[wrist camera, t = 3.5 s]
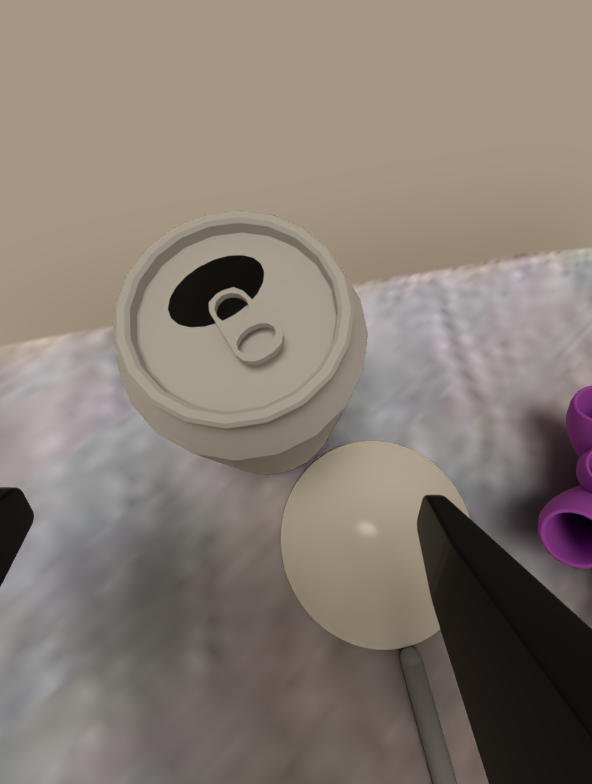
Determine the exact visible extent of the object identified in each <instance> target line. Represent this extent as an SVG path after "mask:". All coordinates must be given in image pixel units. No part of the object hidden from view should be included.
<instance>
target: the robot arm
mask: <svg viewBox="0 0 592 784" xmlns="http://www.w3.org/2000/svg"><path fill="white" fill-rule="evenodd" d="M33 519H34V513H33V510H32V509H31V507H30V505H29V503H28V501H27V499H26V497H25V495H24V494H23V492H22V490H20V489H19V488H13V487H1V488H0V586H1V584H2V582H3V581H4V579H5V577H6V575H7V573H8V571H9V569H10V567H11V565H12V563H13V561H14V559H15V557H16V555H17V553H18V551H19V549H20V547H21V545H22V543H23V541H24V539H25V537H26V535H27V533H28V531H29V529H30V527H31V525H32V523H33ZM417 532H418V537H419V541H420V546H421V551H422V556H423V561H424V566H425V571H426V576H427V581H428V586H429V590H430V595H431V599H432V603H433V607H434V610H435V613H436V617H437V620H438V623H439V626H440V629H441V633H442V636H443V639H444V642H445V645H446V648H447V652H448V655H449V658H450V661H451V664H452V667H453V671H454V674H455V677H456V680H457V683H458V687H459V690H460V693H461V696H462V699H463V702H464V706H465V709H466V712H467V715H468V718H469V722H470V725H471V728H472V731H473V734H474V737H475V741H476V744H477V747H478V750H479V753H480V756H481V760H482V763H483V766H484V769H485V772H486V776H487V779H488V782H489V784H592V629H591V628H590V627H589V626H588V625H587V624H586V623H584V622H583V621H582V620H581V619H580V618H579V617H578V616H577V615H576V614H574V613H573V612H572V611H571V610H570V609H569V608H568V607H567V606H566V605H565V604H563V603H562V602H561V601H560V600H559V599H558V598H557V597H556V596H555V595H554V594H552V593H551V592H550V591H549V590H548V589H547V588H546V587H545V586H544V585H543V584H541V583H540V582H539V581H538V580H537V579H536V578H535V577H534V576H533V575H531V574H530V573H529V572H528V571H527V570H526V569H525V568H524V567H523V566H522V565H520V564H519V563H518V562H517V561H516V560H515V559H514V558H513V557H512V556H511V555H509V554H508V553H507V552H506V551H505V550H504V549H503V548H502V547H501V546H500V545H498V544H497V543H496V542H495V541H494V540H493V539H492V538H491V537H490V536H488V535H487V534H486V533H485V532H484V531H483V530H482V529H481V528H480V527H479V526H477V525H476V524H475V523H474V522H473V521H472V520H471V519H470V518H469V517H468V516H466V515H465V514H464V513H463V512H462V511H461V510H460V509H459V508H458V507H456V506H455V505H454V504H453V503H452V502H451V501H450V500H449V499H448V498H446V497H445V496H443V495H425V496H424V497H423V499H422V503H421V506H420V510H419V514H418V518H417Z"/></svg>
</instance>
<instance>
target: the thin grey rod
mask: <svg viewBox="0 0 592 784" xmlns="http://www.w3.org/2000/svg"><path fill="white" fill-rule="evenodd" d="M400 661H401V665H402V669H403V672H404V676H405V680H406V684H407V687H408V691H409V695H410V698H411V702H412V706H413V710H414V713H415V717H416V721H417V725H418V728H419V732H420V736H421V740H422V743H423V747H424V751H425V754H426V758H427V762H428V766H429V769H430V773H431V777H432V781H433V784H457V781H456V778H455V774H454V770H453V767H452V763H451V760H450V756H449V753H448V749H447V746H446V742H445V739H444V735H443V732H442V728H441V724H440V721H439V717H438V714H437V710H436V707H435V703H434V700H433V696H432V693H431V689H430V686H429V682H428V678H427V675H426V671H425V668H424V664H423V661H422V657H421V655H420V653H419V652H418V651H417V650H416V649H415V648H413V647H406V648H404V649H403V650H402V652H401V654H400Z"/></svg>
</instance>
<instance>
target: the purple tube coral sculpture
mask: <svg viewBox="0 0 592 784" xmlns="http://www.w3.org/2000/svg"><path fill="white" fill-rule="evenodd" d="M566 427H567V434H568V437H569V439H570V441H571V443H572V446H573V448H574V450H575V451H576V453H577V454H578V456H579V457H580V458H579V460H578V461H577V467H576V475H577V479H578V481H579V483H580V484H581V485H580V486H577V487H574V488H572V489H569V490H566V491H565V492H563V493H561V494H559V495H557V496H556V497H554V498H553V499H551V500H550V501H549V502H548V503H547V504H546V505H545V506H544V508H543V509H542V511H541V513H540V514H539V520H538V533H539V537H540V540H541V542H542V544H543V545H544V547H545V549H546V550H547V551H548V552H549V553H550V554H551V555H552V556H553V557H554V558H555V559H557V560H558V561H560V562H562V563H563V564H566V565H569V566H572V567H575V568H584V569H588V568H592V386H588V387H585V388H583V389H581V390H580V391H578V392H577V393H576V394H575V396H574V397H573V398H572V400H571V402H570V405H569V408H568V411H567V415H566Z"/></svg>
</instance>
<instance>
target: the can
mask: <svg viewBox="0 0 592 784" xmlns="http://www.w3.org/2000/svg"><path fill="white" fill-rule="evenodd" d="M367 337H368V332H367V328H366V323H365V319H364V314H363V310H362V305H361V301H360V298H359V297H358V295H357V293H356V292H355V290H354V289H353V287H352V285H351V284H350V282H349V281H348V279H347V276H346V275H345V273H344V271H343V270H342V268H341V267H340V265H339V263H338V262H337V260H336V258H335V257H334V255H333V254H332V252H331V250H330V249H329V248H328V247H326V246H325V245H324V244H323V243H322V242H320V241H319V240H318V239H317V238H316V237H315V236H313V235H312V234H311V233H310V232H309V231H307V230H306V229H305V228H303V227H301V226H298V225H296V224H294V223H291V222H289V221H286V220H284V219H282V218H279V217H277V216H275V215H269V214H261V213H254V212H245V211H234V212H226V213H219V214H210V215H205V216H202V217H200V218H197V219H195V220H192V221H190V222H188V223H185V224H183V225H180V226H178V227H175V228H173V229H172V230H170V231H169V232H168V233H167V234H165V235H164V236H163V237H161V238H160V239H159V240H157V241H156V242H155V243H154V244H152V245H151V246H149V247H148V248H147V249H146V250H145V251H144V252H143V254H142V255H141V256H140V258H139V259H138V260H137V262H136V263H135V264H134V266H133V267H132V268H131V270H130V271H129V272H128V274H127V275H126V277H125V279H124V282H123V285H122V288H121V291H120V294H119V296H118V299H117V303H116V305H115V308H114V343H115V346H116V349H117V351H118V369H119V372H120V375H121V377H122V380H123V383H124V385H125V388H126V391H127V393H128V396H129V399H130V401H131V404H132V405H133V406H134V407H135V409H136V410H137V411H138V412H139V413H140V414H141V415H142V417H143V418H144V419H145V420H146V421H147V422H148V423H149V425H150V426H151V427H152V428H153V429H154V430H155V431H156V433H157V434H159V435H161V436H163V437H165V438H166V439H168V440H170V441H172V442H174V443H175V444H177V445H179V446H181V447H183V448H185V449H186V450H188V451H190V452H192V453H194V454H197V455H200V456H203V457H206V458H208V459H211V460H214V461H217V462H220V463H223V464H226V465H229V466H232V467H235V468H238V469H241V470H244V471H248V472H253V473H259V474H265V475H269V474H276V473H282V472H289V471H291V470H293V469H295V468H297V467H299V466H300V465H302V464H304V463H306V462H308V461H309V460H310V459H311V458H312V457H313V456H314V455H315V454H316V453H317V452H318V451H319V450H320V449H321V448H322V447H323V446H324V445H325V443H326V441H327V439H328V437H329V436H330V434H331V432H332V430H333V428H334V426H335V425H336V423H337V421H338V419H339V417H340V416H341V414H342V412H343V410H344V408H345V407H346V405H347V403H348V401H349V399H350V397H351V395H352V393H353V391H354V389H355V387H356V385H357V383H358V381H359V378H360V376H361V374H362V372H363V370H364V362H365V353H366V345H367Z"/></svg>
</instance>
